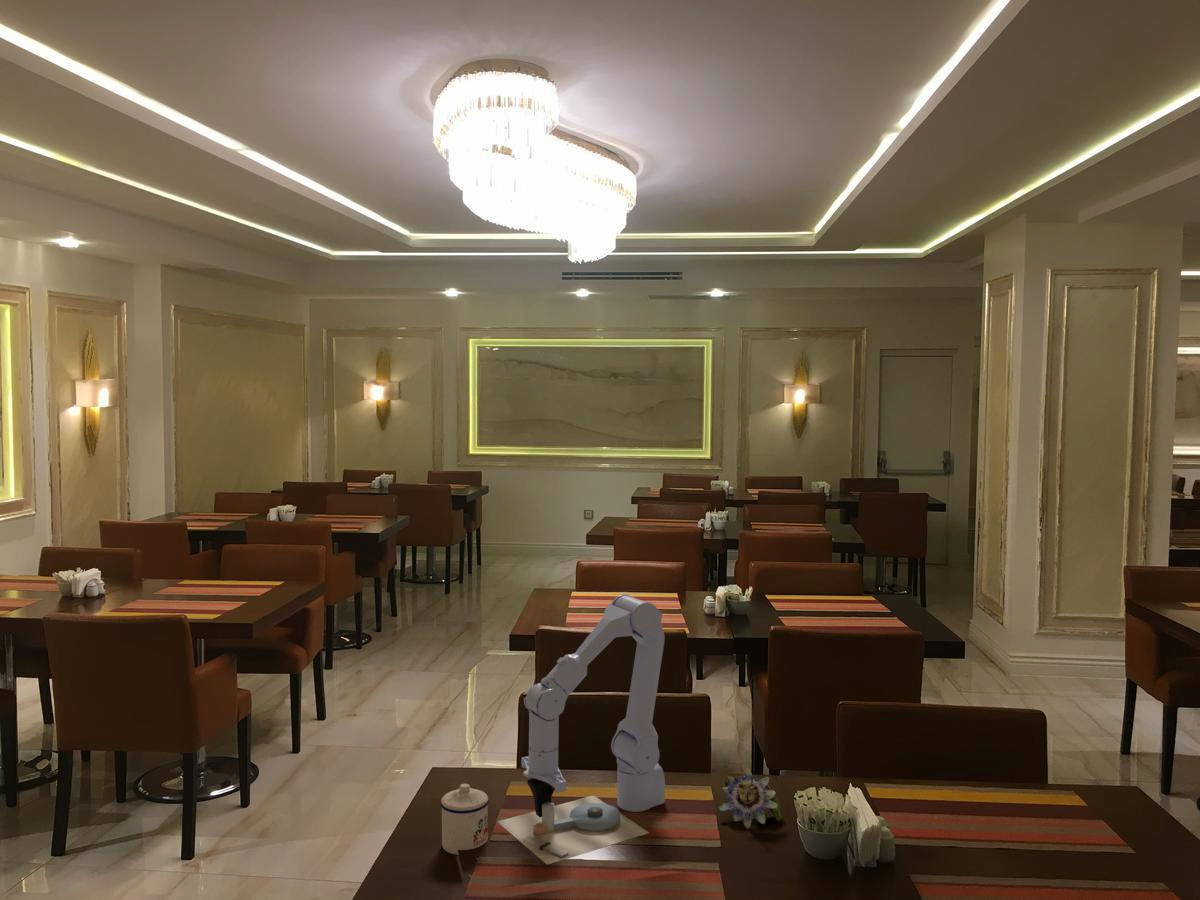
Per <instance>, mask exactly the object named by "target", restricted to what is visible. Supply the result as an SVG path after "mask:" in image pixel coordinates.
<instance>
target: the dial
mask: <svg viewBox="0 0 1200 900" xmlns="http://www.w3.org/2000/svg"><path fill="white" fill-rule="evenodd" d="M554 806H555V803H554V802H552V801H551V802H545V803H543V804H542V823H537V824H534V832H535V833H536V834H537V835H538V834H542V833H551V832H553V831H555V830H560V829H565V828H569V827H575V828H577V829H580V830H583V831H589V832H601V831H607V830H610V829H613V828H615V827H616V826H618V825H619V823H620V813H621V812H620V810H619V809H618V808H617V807H616V806H613V805H611V804H607V803H606V804H602V803H588V804H583V805H580V806H577V807H575V808H574V809H572V810H571V812H570V817H569V818H564V819H560V820H555V821H554Z"/></svg>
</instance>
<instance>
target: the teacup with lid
mask: <svg viewBox="0 0 1200 900" xmlns="http://www.w3.org/2000/svg"><path fill="white" fill-rule="evenodd" d="M489 803H490V799H489V797H488V794H487V793H485V792H484V791H483V790H481V789H480V790H479V789H475V788H471V786H470V784H468V783H462V784H460V785H459V787H458V788H457V789H454V790H451V791H449V792H447V793H445V794H444V795H443V796H442V798H441V800H440V803H439V804H440V807H441V840H442V841H441V846H442V849H443V850H444V851H445V852H447V853H449V854H452V855H456V856H459V855H460V854H459V851H467V850H474V849H477V848H479V847H481V846H483V845H485V844H486V843H487V842H488V839H489V833H488V832H489V831H488V830H489V822H488V821H489V820H488V819H489V816H488V814H489V813H488V812H489V810H488V809H489V807H488V806H489Z"/></svg>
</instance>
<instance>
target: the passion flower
mask: <svg viewBox="0 0 1200 900" xmlns="http://www.w3.org/2000/svg"><path fill="white" fill-rule="evenodd" d="M769 782H770V777H768V776H766V777H762V778H760V779H756V778H754V775H753V774H752V772H751V770H750V769H749V768H745V769H744V771H743V772H742V774H741V775H740V776H737V777H732V776H727V779H725V778H723V783H724V784H725V786H724V787H722V788H721V790H722V792H724V793H725V794H726V795H727V796H726V798H725V800H724V801H723V802H722V803H720V804H719V805H718V806H717V810H718V811H720V812H727V811H728V810H730V811H731V812H732V821H733V822H740V823H741V824H742V825H743V826H744V827H745V828H746V829H747V830H748V829H750V827H751V825H752V821H753V820H754V819H755V820H756V821H757V822H758V823H760V824H762V825H765V823H766V812H767V809H769V810H770V812H771V814H773V816H774V818H775V820H776V822H777V821H778V822H780V821H781V819H782V818H781V817H782V815H781V814H783V809H782V808H781V805H780V803H779V801H778V799H777V798H776V797H775V796H776V795H777V794H776V791H775V790H773V789H771V788H770V786H769Z"/></svg>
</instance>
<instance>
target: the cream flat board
mask: <svg viewBox="0 0 1200 900" xmlns="http://www.w3.org/2000/svg"><path fill="white" fill-rule="evenodd" d="M588 803H602V804H607V803H606V802H605V801H603V800H601V799H600V798H598V797H597V796H596V795H590V796H586V797H583V798H578V799H574V800H572V801H568V802H567V801H566V802H564V803H561V804H557V805H554V821H555V820H560V819H564V818H569V817H570V812H571V810H572V809H574V808H575V807H577V806H580V805H583V804H588ZM496 822H497V823H498V824H499V825H500V826H501V827H503V828H504V830H506V831H507V832H508V833H509V834H510V835H512V837H514V838H515V839H516V840H517V841H519V842H520V843H521V844H522V845H523V846H525V848H527V849H528V850H529V851H531V853H533V854H534V855H535V856H536V857H537V858H539V860H541V861H542V862H543V863H544V864H546V865H551V864H554V863H557V862H560V861H563V860H567V859H569V858H573V857H574V858H575V857H577V856H579V855H584V854H586V853H589V852H592V851H596V850H599V849H603V848H605V847H609V846H612V845H615V844H618V843H621V842H625V841H628V840H631V839H635V838H637V837H641V836H644V835H647V834H650V832H649V831H648V830H646V829H644V828H643V827H641V826H640V825H638V824H637V823H636V822H634V821H633V820H631V819H629V818H628V817H627V816H625V815H623V814H622V813H621V812H620V823H619V825H618V826H616V827H615V828H613V829H610V830H607V831H601V832H589V831H583V830H580V829H577V828H575V827H569V828H565V829H560V830H555V831H553V832H551V833H542V834H538V835H537V834H536V833H535V832H534V824H537V823H542V817H539V816H537V815H536V812H535V810H534V811H531V812H528V813H524V814H520V815H516V816H512V817H510V818H505V819H501V820H497V821H496Z"/></svg>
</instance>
